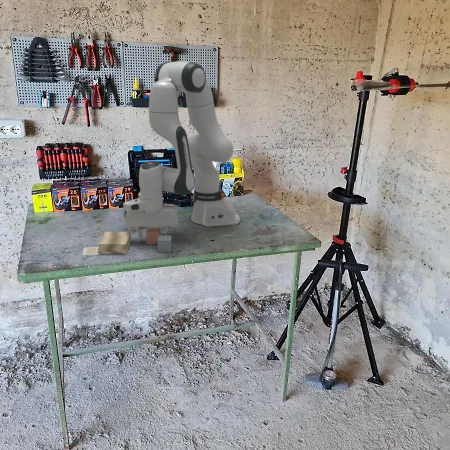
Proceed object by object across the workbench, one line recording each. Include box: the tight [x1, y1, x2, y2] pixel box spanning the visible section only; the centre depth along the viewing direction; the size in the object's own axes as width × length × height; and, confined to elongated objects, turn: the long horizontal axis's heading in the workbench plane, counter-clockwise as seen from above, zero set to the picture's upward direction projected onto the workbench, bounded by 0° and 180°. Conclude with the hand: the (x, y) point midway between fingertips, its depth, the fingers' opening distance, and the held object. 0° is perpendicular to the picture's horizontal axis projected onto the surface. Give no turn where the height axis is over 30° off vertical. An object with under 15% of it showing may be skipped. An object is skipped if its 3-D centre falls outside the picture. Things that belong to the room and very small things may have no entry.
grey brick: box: [157, 234, 173, 253], centre depth 159 cm, size 5×5×5 cm
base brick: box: [98, 231, 132, 255], centre depth 160 cm, size 10×12×4 cm
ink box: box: [122, 201, 145, 232], centre depth 178 cm, size 9×5×12 cm, turn 135°
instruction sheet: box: [81, 246, 101, 257], centre depth 157 cm, size 9×7×1 cm
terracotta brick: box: [145, 227, 161, 245], centre depth 166 cm, size 5×5×5 cm
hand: (152, 236), depth 166 cm, fingers open, 8 cm apart
